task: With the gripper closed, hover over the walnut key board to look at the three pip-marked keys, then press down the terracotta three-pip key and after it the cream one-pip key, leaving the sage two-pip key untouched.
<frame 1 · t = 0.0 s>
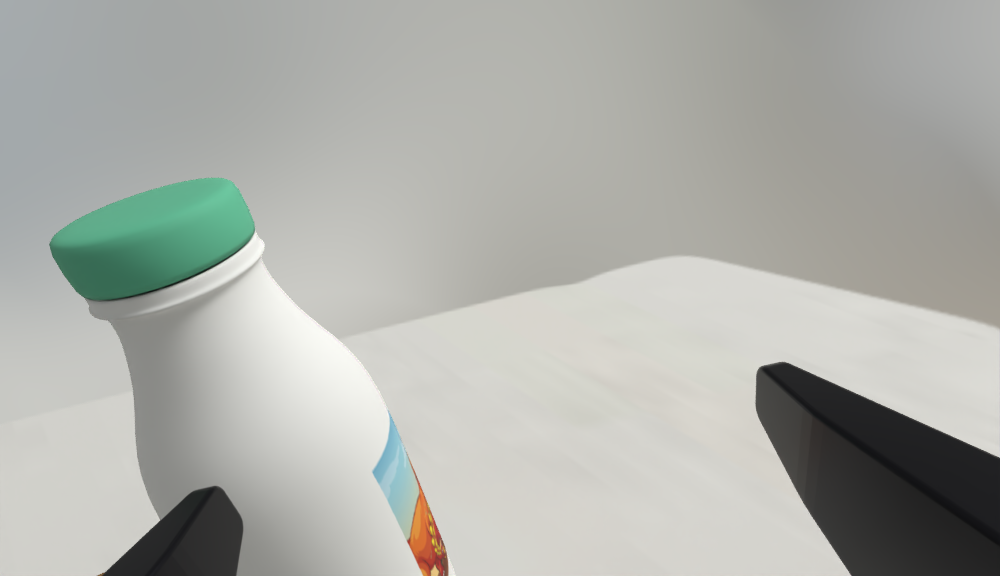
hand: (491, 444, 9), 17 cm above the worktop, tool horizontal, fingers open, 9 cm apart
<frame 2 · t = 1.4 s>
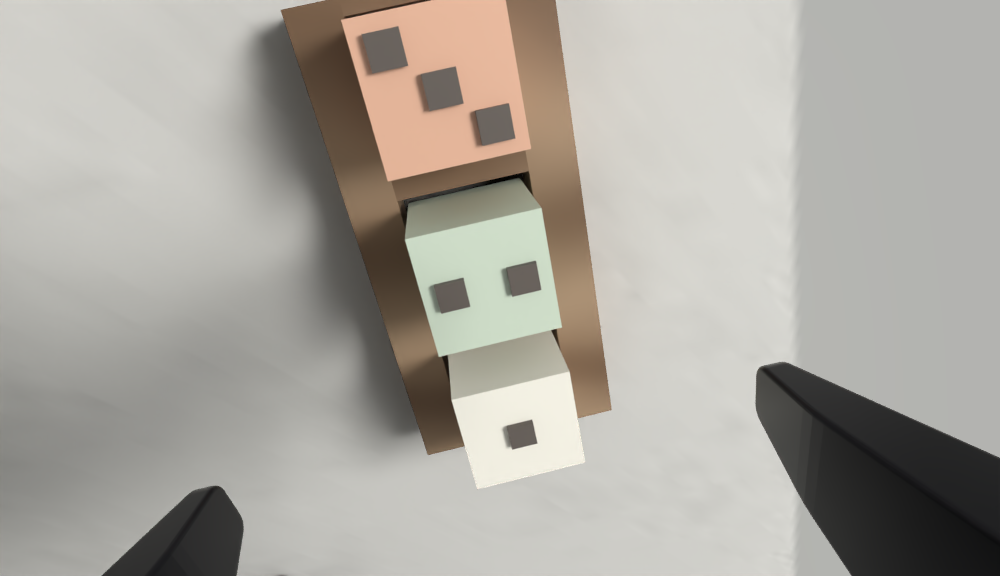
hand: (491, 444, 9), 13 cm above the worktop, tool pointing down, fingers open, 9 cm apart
key three: (440, 84, 16), point 3 cm above the worktop, slide at 0.0 cm
key two: (481, 263, 18), point 3 cm above the worktop, slide at 0.0 cm
key board: (473, 231, 21), on the worktop
key one: (513, 400, 20), point 3 cm above the worktop, slide at 0.0 cm
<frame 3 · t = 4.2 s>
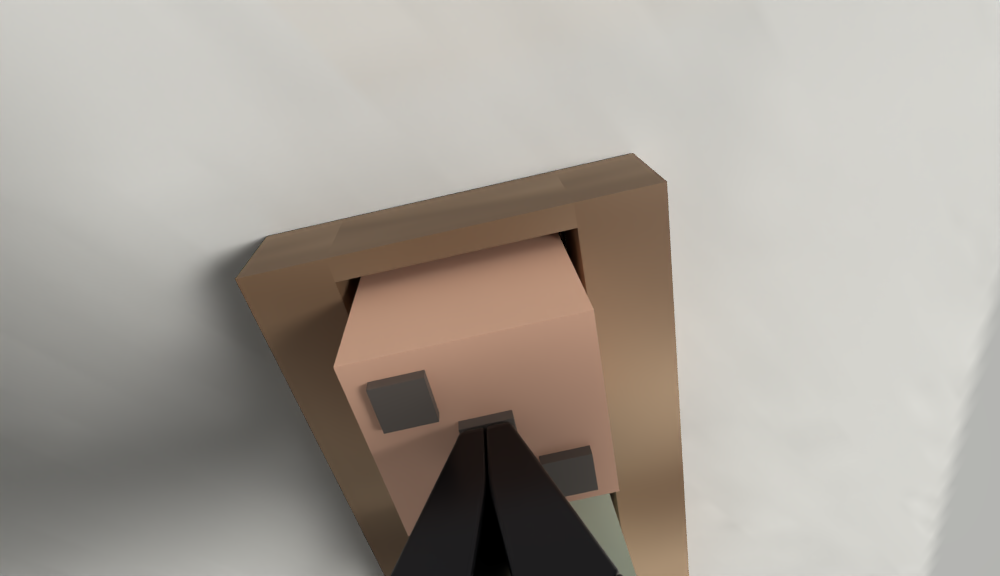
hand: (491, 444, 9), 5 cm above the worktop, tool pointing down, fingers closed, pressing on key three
key three: (483, 367, 11), point 2 cm above the worktop, slide at 1.1 cm, touching gripper
key board: (521, 471, 16), on the worktop
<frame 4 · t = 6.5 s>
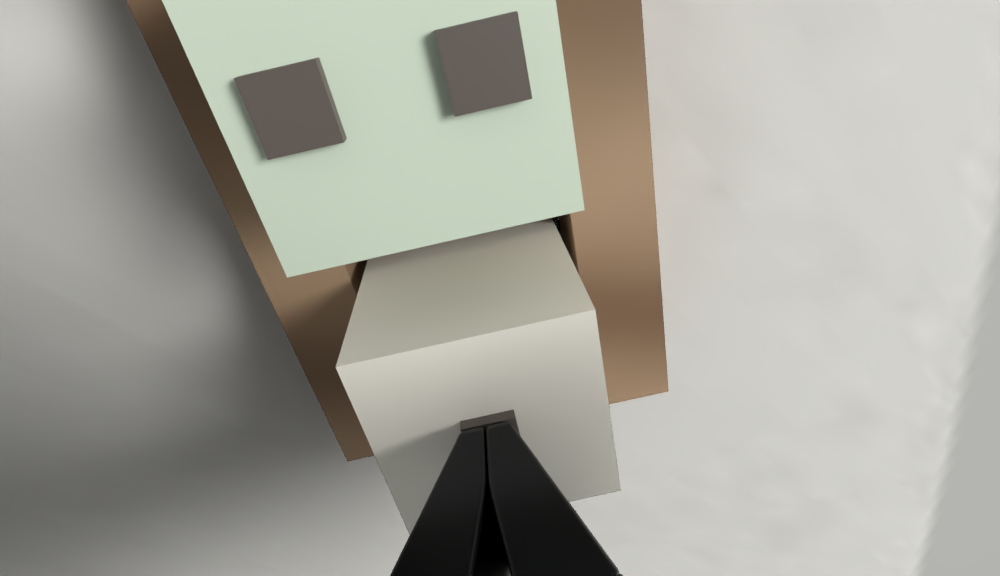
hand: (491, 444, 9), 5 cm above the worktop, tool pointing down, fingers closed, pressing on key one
key two: (401, 67, 8), point 3 cm above the worktop, slide at 0.0 cm
key board: (414, 47, 11), on the worktop
key one: (485, 367, 11), point 3 cm above the worktop, slide at 0.3 cm, touching gripper
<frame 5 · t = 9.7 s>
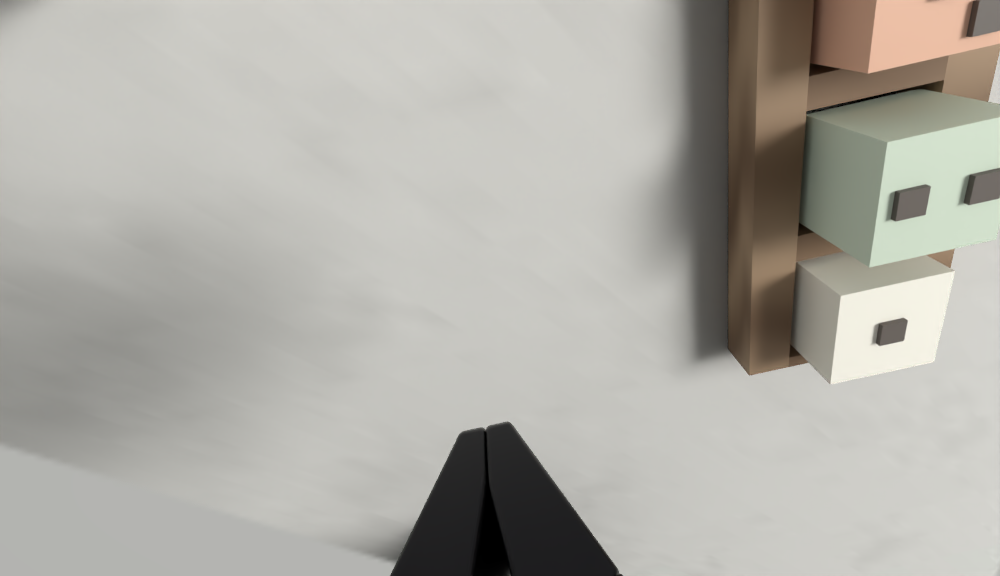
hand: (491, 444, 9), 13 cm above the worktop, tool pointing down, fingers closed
key two: (897, 175, 18), point 4 cm above the worktop, slide at 0.0 cm
key board: (831, 148, 21), on the worktop
key one: (855, 304, 21), point 2 cm above the worktop, slide at 1.1 cm
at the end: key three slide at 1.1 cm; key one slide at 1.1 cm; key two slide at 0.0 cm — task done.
